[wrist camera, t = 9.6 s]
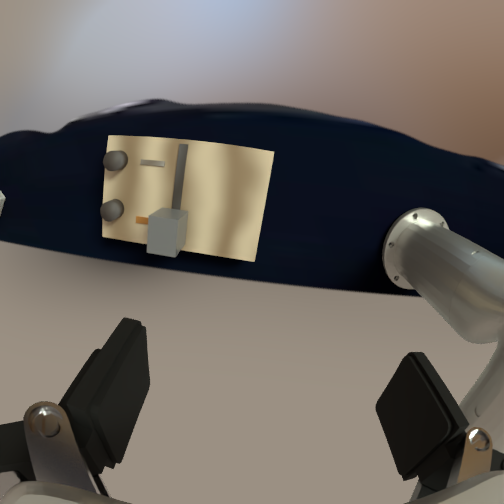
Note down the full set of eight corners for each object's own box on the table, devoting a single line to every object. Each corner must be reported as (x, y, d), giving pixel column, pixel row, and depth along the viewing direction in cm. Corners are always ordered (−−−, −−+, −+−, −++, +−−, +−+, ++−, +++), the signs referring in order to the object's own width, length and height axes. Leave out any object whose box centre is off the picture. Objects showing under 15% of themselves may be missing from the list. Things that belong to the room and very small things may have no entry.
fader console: (272, 152, 33) (275, 151, 27) (254, 250, 37) (254, 268, 32) (122, 136, 32) (100, 135, 26) (115, 228, 36) (95, 241, 31)
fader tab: (188, 211, 31) (178, 219, 27) (185, 244, 32) (175, 257, 28) (162, 207, 31) (148, 215, 27) (159, 240, 32) (146, 252, 28)
